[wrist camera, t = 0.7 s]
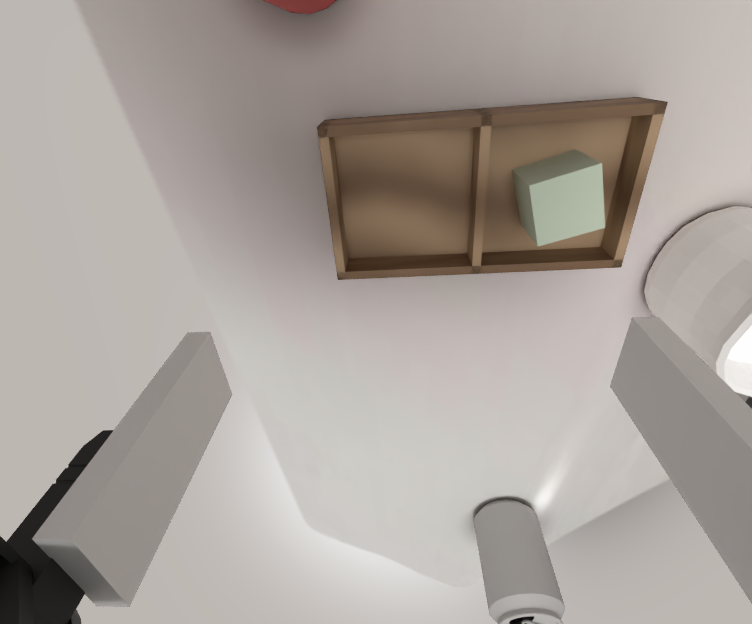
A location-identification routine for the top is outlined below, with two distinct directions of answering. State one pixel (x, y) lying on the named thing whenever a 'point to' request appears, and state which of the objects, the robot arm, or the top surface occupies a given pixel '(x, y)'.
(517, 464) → the top surface
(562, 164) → the sage block
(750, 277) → the cup
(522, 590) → the can
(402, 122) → the tray
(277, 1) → the beer can
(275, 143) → the top surface
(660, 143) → the top surface
